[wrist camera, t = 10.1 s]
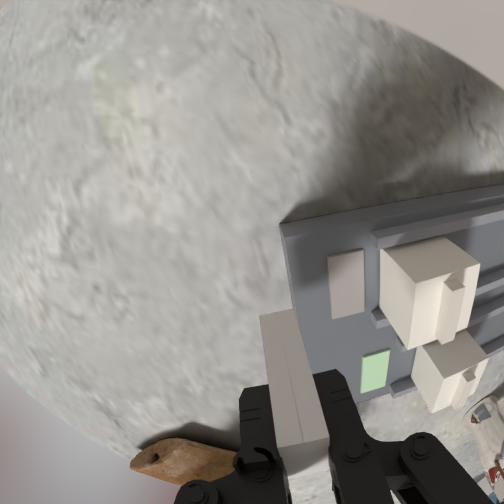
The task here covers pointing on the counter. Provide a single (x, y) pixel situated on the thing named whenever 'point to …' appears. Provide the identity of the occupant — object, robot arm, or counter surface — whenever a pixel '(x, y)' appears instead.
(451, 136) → the counter surface
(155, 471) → the clay platform pipe
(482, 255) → the switch board
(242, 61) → the counter surface
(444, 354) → the tab
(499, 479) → the beer glass
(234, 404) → the counter surface
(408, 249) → the tab
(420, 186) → the counter surface
